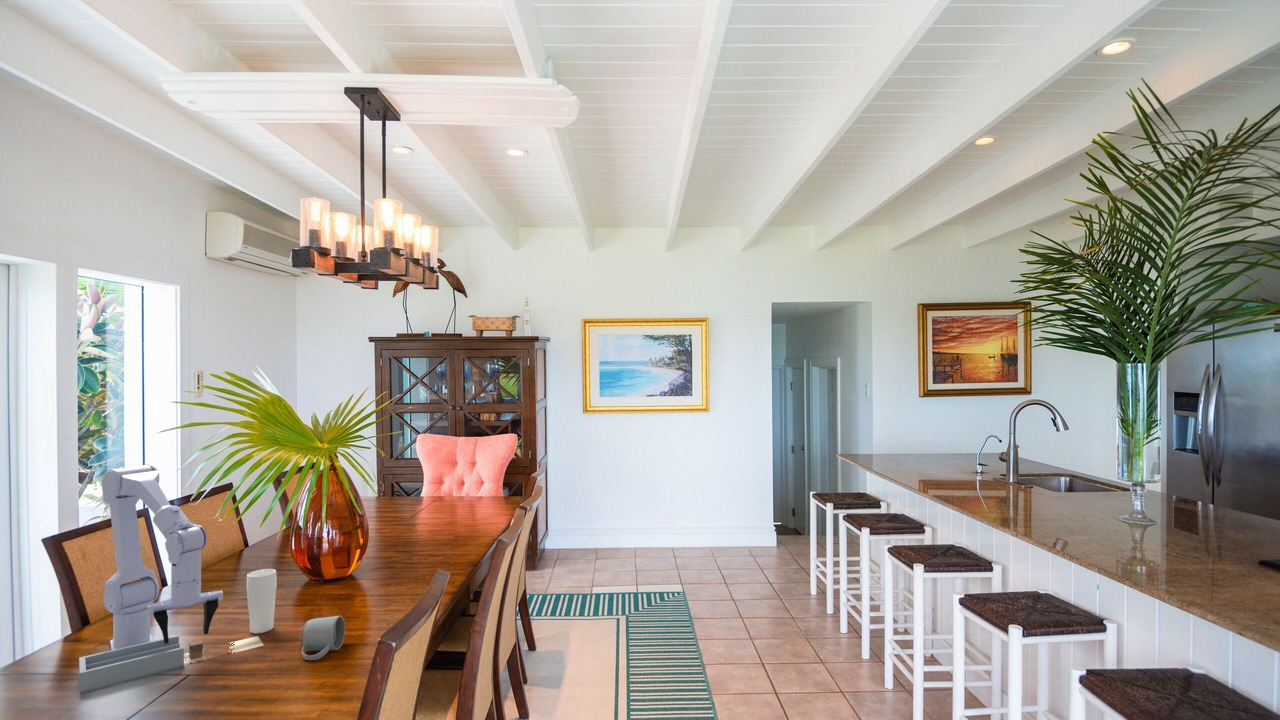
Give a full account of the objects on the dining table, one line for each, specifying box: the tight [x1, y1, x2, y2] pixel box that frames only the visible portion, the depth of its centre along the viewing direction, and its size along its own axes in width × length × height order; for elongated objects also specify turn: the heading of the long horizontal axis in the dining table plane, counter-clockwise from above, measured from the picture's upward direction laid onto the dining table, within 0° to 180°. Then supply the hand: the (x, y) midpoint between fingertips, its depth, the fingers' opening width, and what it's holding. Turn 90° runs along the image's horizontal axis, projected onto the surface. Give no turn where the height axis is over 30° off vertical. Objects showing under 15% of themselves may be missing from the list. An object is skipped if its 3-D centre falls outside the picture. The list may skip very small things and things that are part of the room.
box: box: [78, 634, 185, 695], centre depth 145 cm, size 10×18×4 cm, turn 131°
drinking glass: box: [246, 568, 278, 635], centre depth 169 cm, size 7×7×15 cm
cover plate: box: [184, 635, 265, 666], centre depth 157 cm, size 7×16×4 cm, turn 131°
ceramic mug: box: [300, 615, 346, 661], centre depth 155 cm, size 11×8×8 cm
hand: (186, 637), depth 152 cm, fingers open, 7 cm apart
